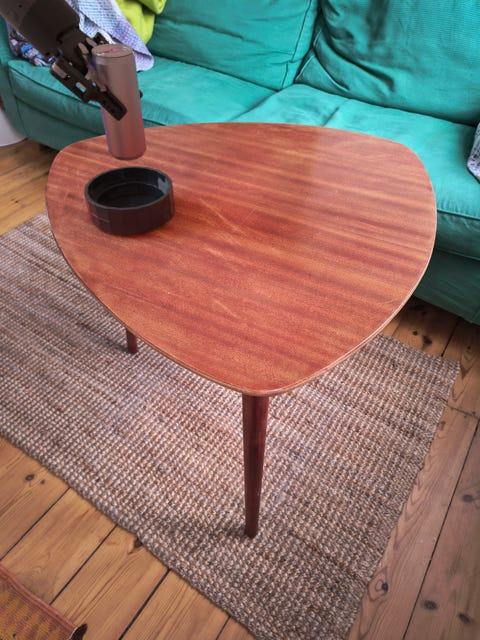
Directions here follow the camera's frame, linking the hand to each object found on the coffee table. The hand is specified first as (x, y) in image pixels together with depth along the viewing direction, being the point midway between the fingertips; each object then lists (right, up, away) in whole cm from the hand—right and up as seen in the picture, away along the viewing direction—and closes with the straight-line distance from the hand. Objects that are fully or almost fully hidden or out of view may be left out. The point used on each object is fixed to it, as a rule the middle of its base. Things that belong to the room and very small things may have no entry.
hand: (131, 107), depth 70 cm
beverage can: (-2, -5, +5) cm, 8 cm away
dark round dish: (-3, -12, +16) cm, 20 cm away
